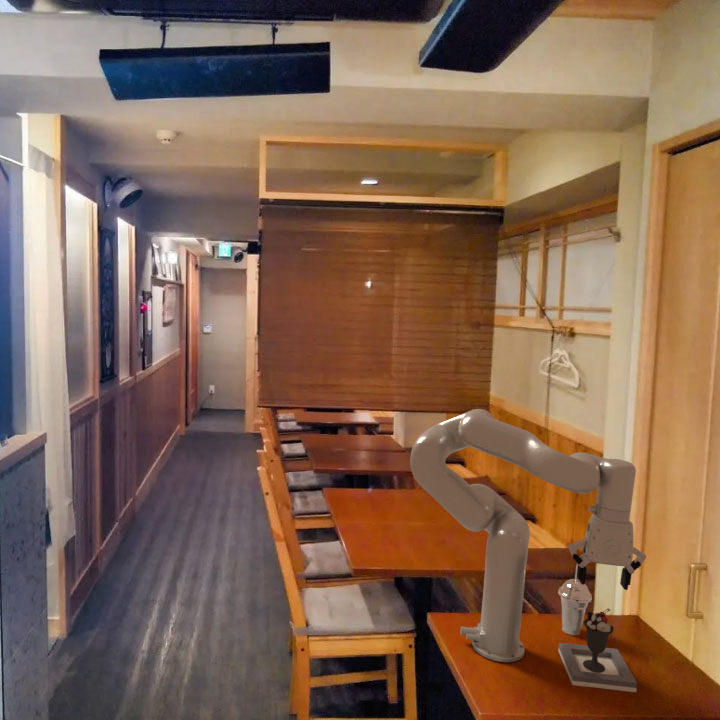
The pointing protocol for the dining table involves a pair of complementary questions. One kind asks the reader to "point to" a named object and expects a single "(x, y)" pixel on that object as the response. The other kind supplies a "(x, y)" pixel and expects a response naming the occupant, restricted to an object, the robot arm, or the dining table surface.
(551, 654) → the dining table surface
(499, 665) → the dining table surface
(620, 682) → the square picture frame
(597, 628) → the sundae
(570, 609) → the cup with straw
